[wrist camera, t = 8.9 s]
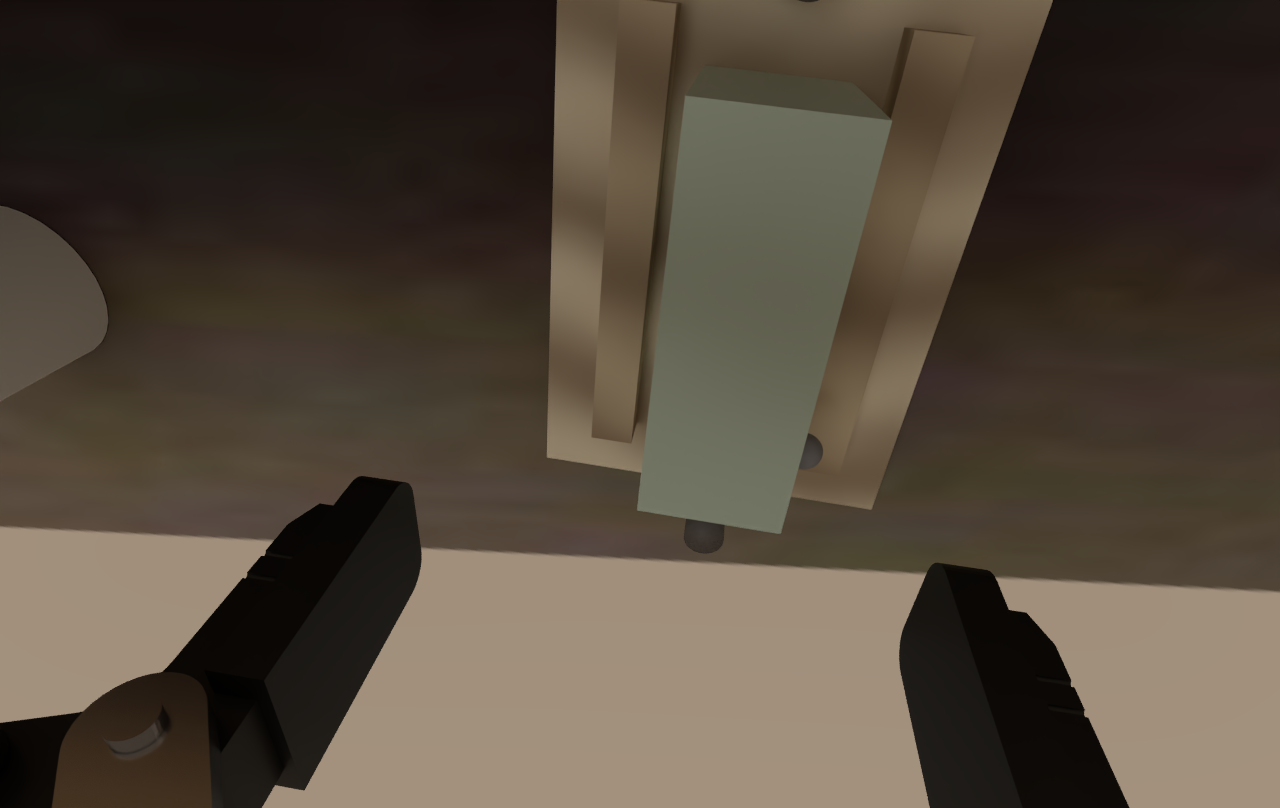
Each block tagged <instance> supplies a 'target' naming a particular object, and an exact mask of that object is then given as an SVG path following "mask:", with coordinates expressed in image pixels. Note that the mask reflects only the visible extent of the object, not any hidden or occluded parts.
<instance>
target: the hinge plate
mask: <svg viewBox="0 0 1280 808" xmlns="http://www.w3.org/2000/svg"><path fill="white" fill-rule="evenodd" d="M1052 2H1053V0H557V28H556V73H555V118H554V163H553V207H552V252H551V297H550V341H549V386H548V431H547V457H548V458H554V459H560V460H567V461H573V462H579V463H585V464H591V465H598V466H604V467H610V468H616V469H623V470H629V471H635V472H642V463H643V454H644V446H645V437H646V429H647V420H648V411H649V403H650V394H651V386H652V377H653V368H654V360H655V351H656V343H657V334H658V325H659V317H660V308H661V300H662V291H663V282H664V274H665V265H666V257H667V248H668V239H669V231H670V222H671V214H672V205H673V196H674V188H675V179H676V171H677V162H678V153H679V145H680V136H681V128H682V119H683V111H684V102H685V95H686V94H687V92H688V91H689V89H690V87H691V86H692V84H693V83H694V81H695V79H696V78H697V76H698V75H699V73H700V72H701V70H702V68H703V67H704V65H709V66H717V67H726V68H735V69H743V70H752V71H760V72H769V73H777V74H786V75H795V76H803V77H812V78H820V79H829V80H838V81H846V82H853V83H854V84H855V85H856V86H857V87H858V88H859V89H860V90H861V91H862V92H863V93H864V94H865V95H866V96H867V97H868V98H870V99H871V100H872V101H873V102H874V103H875V104H876V105H877V106H878V107H879V108H880V109H881V110H882V111H883V112H884V113H885V114H886V115H887V116H888V117H889V118H890V119H891V120H892V124H891V128H890V132H889V135H888V139H887V143H886V146H885V150H884V154H883V158H882V161H881V165H880V169H879V172H878V176H877V180H876V183H875V187H874V191H873V194H872V198H871V202H870V206H869V209H868V213H867V217H866V220H865V224H864V228H863V231H862V235H861V239H860V243H859V246H858V250H857V254H856V257H855V261H854V265H853V268H852V272H851V276H850V280H849V283H848V287H847V291H846V294H845V298H844V302H843V305H842V309H841V313H840V317H839V320H838V324H837V328H836V331H835V335H834V339H833V342H832V346H831V350H830V353H829V357H828V361H827V365H826V368H825V372H824V376H823V379H822V383H821V387H820V390H819V394H818V398H817V402H816V405H815V409H814V413H813V416H812V420H811V424H810V427H809V431H808V433H809V434H812V435H814V436H815V437H817V438H818V439H819V441H820V442H821V444H822V447H823V456H822V459H821V461H820V462H819V463H818V464H817V465H816V466H815V467H813V468H811V469H806V470H805V469H798V472H797V476H796V479H795V483H794V487H793V490H792V494H791V497H797V498H803V499H809V500H815V501H821V502H828V503H834V504H840V505H846V506H852V507H859V508H865V509H872V507H873V504H874V501H875V498H876V495H877V493H878V490H879V487H880V484H881V481H882V478H883V476H884V473H885V470H886V467H887V464H888V462H889V459H890V456H891V453H892V450H893V448H894V445H895V442H896V439H897V436H898V434H899V431H900V428H901V425H902V422H903V420H904V417H905V414H906V411H907V408H908V406H909V403H910V400H911V397H912V394H913V392H914V389H915V386H916V383H917V380H918V377H919V375H920V372H921V369H922V366H923V363H924V361H925V358H926V355H927V352H928V349H929V347H930V344H931V341H932V338H933V335H934V333H935V330H936V327H937V324H938V321H939V319H940V316H941V313H942V310H943V307H944V305H945V302H946V299H947V296H948V293H949V291H950V288H951V285H952V282H953V279H954V276H955V274H956V271H957V268H958V265H959V262H960V260H961V257H962V254H963V251H964V248H965V246H966V243H967V240H968V237H969V234H970V232H971V229H972V226H973V223H974V220H975V218H976V215H977V212H978V209H979V206H980V204H981V201H982V198H983V195H984V192H985V190H986V187H987V184H988V181H989V178H990V176H991V173H992V170H993V167H994V164H995V161H996V159H997V156H998V153H999V150H1000V147H1001V145H1002V142H1003V139H1004V136H1005V133H1006V131H1007V128H1008V125H1009V122H1010V119H1011V117H1012V114H1013V111H1014V108H1015V105H1016V103H1017V100H1018V97H1019V94H1020V91H1021V89H1022V86H1023V83H1024V80H1025V77H1026V75H1027V72H1028V69H1029V66H1030V63H1031V60H1032V58H1033V55H1034V52H1035V49H1036V46H1037V44H1038V41H1039V38H1040V35H1041V32H1042V30H1043V27H1044V24H1045V21H1046V18H1047V16H1048V13H1049V10H1050V7H1051V4H1052ZM684 540H685V543H686V545H687V546H688V547H689V548H690V549H692V550H693V551H696V552H699V553H712V552H715V551H717V550H718V549H719V548H720V547H721V546H722V544H723V540H724V525H723V524H717V523H711V522H705V521H698V520H692V519H686V525H685V533H684Z"/></svg>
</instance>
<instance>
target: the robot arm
mask: <svg viewBox="0 0 1280 808" xmlns="http://www.w3.org/2000/svg"><path fill="white" fill-rule="evenodd" d="M420 567H421V545H420V538H419V531H418V524H417V517H416V510H415V503H414V496H413V490H412V488H411V486H410V484H408V483H406V482H399V481H393V480H386V479H379V478H372V477H366V476H359V477H357V478H356V479H355V480H353V481H352V483H351V484H350V485H349V486H348V488H347V489H346V490H345V491H344V493H343V494H342V495H341V496H340V498H339V499H338V500H337V502H336V503H335V504H334V505H326V504H318V505H317V506H315V507H314V508H312V509H311V510H309V511H307V512H306V513H304V514H303V515H301V516H300V517H298V518H297V519H295V520H294V521H292V522H291V523H289V524H288V525H287V526H286V527H285V528H284V529H283V531H282V532H281V533H280V534H279V535H278V537H277V538H276V539H275V540H274V541H273V543H272V544H271V545H270V546H269V547H268V549H267V550H266V554H265V556H261V557H260V558H259V559H258V560H257V562H256V563H255V564H254V565H253V566H252V567H251V569H250V570H249V571H248V572H247V577H246V578H245V579H244V578H242V579H241V581H240V582H239V583H238V584H237V585H236V587H235V588H234V589H233V590H232V591H231V593H230V594H229V595H228V596H227V597H226V598H225V600H224V601H223V602H222V603H221V604H220V606H219V607H218V608H217V609H216V610H215V611H214V613H213V614H212V615H211V616H210V617H209V619H208V620H207V621H206V622H205V623H204V625H203V626H202V627H201V628H200V629H199V631H198V632H197V633H196V634H195V635H194V636H193V638H192V639H191V640H190V641H189V642H188V644H187V645H186V646H185V647H184V648H183V649H182V651H181V652H180V653H179V655H178V656H177V657H176V658H175V659H174V660H173V661H172V662H171V663H170V665H169V666H168V667H167V668H166V669H165V670H164V671H163V672H161V673H155V674H149V675H145V676H142V677H138V678H136V679H133V680H130V681H128V682H125V683H123V684H121V685H119V686H117V687H115V688H114V689H112V690H110V691H109V692H107V693H105V694H104V695H102V696H101V697H100V698H98V699H97V700H96V701H94V702H93V703H92V704H91V705H90V706H89V707H88V708H87V709H85V710H84V711H83V712H79V713H72V714H66V715H57V716H49V717H42V718H34V719H27V720H20V721H12V722H5V723H0V808H262V806H263V805H264V803H265V801H266V800H267V798H268V796H269V794H270V793H271V791H272V789H273V787H274V786H275V785H278V786H284V787H288V788H294V789H299V790H305V788H306V786H307V785H308V783H309V781H310V779H311V777H312V775H313V774H314V772H315V770H316V768H317V766H318V764H319V763H320V761H321V759H322V757H323V755H324V753H325V752H326V750H327V748H328V746H329V744H330V743H331V741H332V738H333V737H334V735H335V733H336V731H337V730H338V728H339V726H340V724H341V722H342V721H343V719H344V717H345V715H346V713H347V711H348V710H349V708H350V706H351V704H352V702H353V700H354V699H355V697H356V695H357V693H358V691H359V689H360V687H361V686H362V684H363V682H364V680H365V678H366V677H367V675H368V673H369V671H370V669H371V667H372V666H373V664H374V662H375V660H376V658H377V656H378V655H379V653H380V651H381V649H382V647H383V645H384V644H385V642H386V640H387V638H388V636H389V635H390V633H391V631H392V629H393V627H394V625H395V624H396V621H397V620H398V618H399V616H400V614H401V613H402V611H403V609H404V607H405V605H406V604H407V602H408V600H409V598H410V596H411V594H412V592H413V590H414V588H415V586H416V583H417V580H418V576H419V572H420ZM899 661H900V670H901V676H902V681H903V685H904V690H905V695H906V699H907V704H908V708H909V713H910V718H911V722H912V727H913V732H914V736H915V741H916V745H917V750H918V754H919V759H920V764H921V769H922V773H923V778H924V782H925V787H926V792H927V796H928V801H929V806H930V808H1129V806H1128V804H1127V802H1126V800H1125V797H1124V795H1123V793H1122V791H1121V789H1120V786H1119V784H1118V782H1117V780H1116V778H1115V775H1114V773H1113V771H1112V769H1111V767H1110V765H1109V762H1108V760H1107V758H1106V756H1105V754H1104V751H1103V749H1102V747H1101V745H1100V743H1099V740H1098V738H1097V736H1096V734H1095V731H1094V729H1093V727H1092V725H1091V723H1090V721H1089V718H1087V717H1085V716H1084V710H1085V709H1084V707H1083V705H1082V703H1081V701H1080V699H1079V696H1078V695H1077V692H1076V690H1075V688H1074V687H1071V679H1070V677H1069V674H1068V672H1067V670H1066V668H1065V666H1064V663H1063V661H1062V659H1061V657H1060V655H1059V652H1058V650H1057V648H1056V646H1055V644H1054V643H1053V642H1052V641H1051V640H1050V639H1049V638H1048V636H1047V635H1046V634H1045V633H1044V632H1043V631H1042V630H1041V629H1040V627H1039V626H1038V625H1037V624H1036V623H1035V622H1034V621H1033V620H1032V618H1030V616H1029V615H1028V614H1027V613H1025V612H1018V611H1012V610H1009V609H1008V607H1007V604H1006V602H1005V599H1004V597H1003V595H1002V592H1001V590H1000V587H999V585H998V582H997V580H996V578H995V576H994V575H993V574H992V573H991V572H990V571H988V570H983V569H976V568H969V567H963V566H956V565H949V564H942V563H934V564H933V565H931V567H930V568H929V570H928V572H927V574H926V576H925V579H924V581H923V584H922V586H921V588H920V590H919V593H918V595H917V598H916V600H915V602H914V605H913V607H912V609H911V612H910V614H909V617H908V619H907V621H906V624H905V626H904V628H903V631H902V635H901V640H900V650H899Z"/></svg>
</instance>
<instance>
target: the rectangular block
mask: <svg viewBox="0 0 1280 808" xmlns="http://www.w3.org/2000/svg"><path fill="white" fill-rule="evenodd" d="M891 124H892V120H891V119H890V118H889V117H888V116H887V115H886V114H885V113H884V112H883V111H882V110H881V109H880V108H879V107H878V106H877V105H876V104H875V103H874V102H873V101H872V100H871V99H870V98H868V97H867V96H866V95H865V94H864V93H863V92H862V91H861V90H860V89H859V88H858V87H857V86H856V85H855V84H854V83H853V82H846V81H838V80H829V79H820V78H812V77H803V76H795V75H786V74H777V73H769V72H760V71H752V70H743V69H735V68H726V67H717V66H709V65H704V67H703V68H702V70H701V72H700V73H699V75H698V76H697V78H696V79H695V81H694V83H693V84H692V86H691V87H690V89H689V91H688V92H687V94H686V95H685V102H684V111H683V119H682V128H681V136H680V145H679V153H678V162H677V171H676V179H675V188H674V196H673V205H672V214H671V222H670V231H669V239H668V248H667V257H666V265H665V274H664V282H663V291H662V300H661V308H660V317H659V325H658V334H657V343H656V351H655V360H654V368H653V377H652V386H651V394H650V403H649V411H648V420H647V429H646V437H645V446H644V454H643V463H642V472H641V480H640V489H639V497H638V506H637V510H638V511H644V512H650V513H656V514H662V515H668V516H674V517H680V518H686V519H692V520H698V521H705V522H711V523H717V524H723V525H729V526H735V527H741V528H747V529H753V530H759V531H765V532H771V533H777V534H781V531H782V527H783V524H784V520H785V516H786V512H787V509H788V505H789V501H790V498H791V494H792V490H793V487H794V483H795V479H796V476H797V472H798V469H805V470H806V469H811V468H813V467H815V466H816V465H817V464H818V463H819V462H820V461H821V459H822V456H823V447H822V444H821V442H820V441H819V439H818V438H817V437H815V436H814V435H812V434H809V433H808V431H809V427H810V424H811V420H812V416H813V413H814V409H815V405H816V402H817V398H818V394H819V390H820V387H821V383H822V379H823V376H824V372H825V368H826V365H827V361H828V357H829V353H830V350H831V346H832V342H833V339H834V335H835V331H836V328H837V324H838V320H839V317H840V313H841V309H842V305H843V302H844V298H845V294H846V291H847V287H848V283H849V280H850V276H851V272H852V268H853V265H854V261H855V257H856V254H857V250H858V246H859V243H860V239H861V235H862V231H863V228H864V224H865V220H866V217H867V213H868V209H869V206H870V202H871V198H872V194H873V191H874V187H875V183H876V180H877V176H878V172H879V169H880V165H881V161H882V158H883V154H884V150H885V146H886V143H887V139H888V135H889V132H890V128H891Z"/></svg>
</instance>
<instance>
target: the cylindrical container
mask: <svg viewBox="0 0 1280 808" xmlns="http://www.w3.org/2000/svg"><path fill="white" fill-rule="evenodd" d="M107 326H108V312H107V305H106V302H105V299H104V296H103V293H102V290H101V288H100V286H99V284H98V282H97V280H96V278H95V277H94V275H93V274H92V272H91V270H90V269H89V267H88V266H87V264H86V263H85V262H84V261H83V259H82V258H81V257H80V256H79V255H78V254H77V252H76V251H75V250H74V249H73V248H72V247H71V246H70V245H69V244H68V243H67V242H66V241H65V240H63V239H62V238H61V237H60V236H59V235H58V234H57V233H55V232H54V231H52V230H51V229H50V228H48V227H47V226H46V225H44V224H43V223H41V222H40V221H38V220H36V219H34V218H32V217H30V216H28V215H27V214H25V213H22V212H19V211H17V210H14V209H11V208H9V207H4V206H0V401H2V400H4V399H5V398H7V397H9V396H11V395H13V394H14V393H16V392H18V391H20V390H22V389H24V388H25V387H27V386H29V385H31V384H33V383H34V382H36V381H38V380H40V379H42V378H44V377H45V376H47V375H49V374H51V373H53V372H54V371H56V370H58V369H60V368H62V367H63V366H65V365H67V364H69V363H71V362H73V361H74V360H76V359H78V358H80V357H82V356H83V355H85V354H87V353H89V352H91V351H92V350H94V349H95V348H96V347H97V346H98V345H99V344H100V343H101V342H102V341H103V339H104V336H105V334H106V332H107Z"/></svg>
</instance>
